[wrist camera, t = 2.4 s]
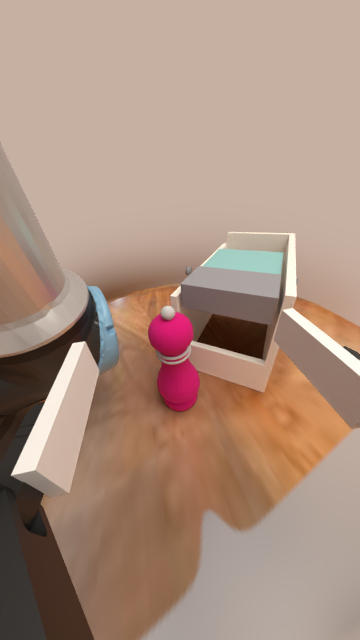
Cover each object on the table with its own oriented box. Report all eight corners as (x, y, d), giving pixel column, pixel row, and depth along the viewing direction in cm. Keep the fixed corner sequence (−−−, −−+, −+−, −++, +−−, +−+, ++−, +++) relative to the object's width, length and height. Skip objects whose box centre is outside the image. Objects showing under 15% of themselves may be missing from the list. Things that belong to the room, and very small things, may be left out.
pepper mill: (176, 372, 39) (162, 286, 26) (207, 389, 35) (208, 299, 23) (153, 400, 34) (124, 314, 22) (186, 423, 31) (173, 335, 18)
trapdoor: (182, 307, 32) (180, 283, 29) (218, 263, 48) (219, 245, 45) (271, 325, 27) (278, 298, 24) (279, 269, 42) (284, 249, 40)
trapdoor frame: (175, 363, 41) (165, 278, 29) (218, 293, 65) (222, 231, 53) (267, 393, 34) (302, 297, 22) (278, 303, 58) (297, 233, 46)
